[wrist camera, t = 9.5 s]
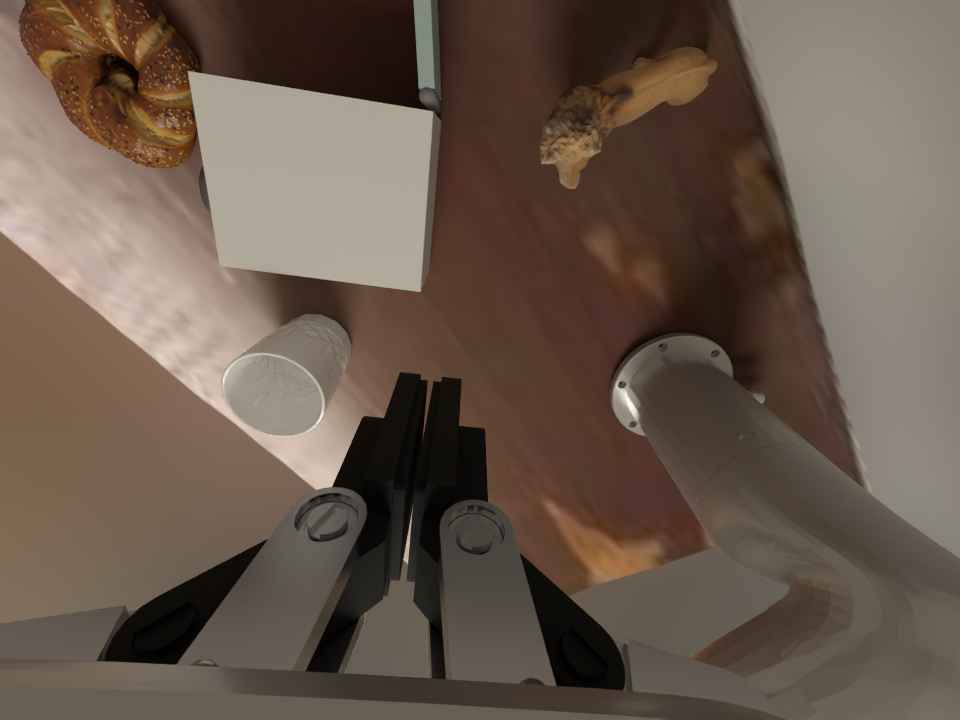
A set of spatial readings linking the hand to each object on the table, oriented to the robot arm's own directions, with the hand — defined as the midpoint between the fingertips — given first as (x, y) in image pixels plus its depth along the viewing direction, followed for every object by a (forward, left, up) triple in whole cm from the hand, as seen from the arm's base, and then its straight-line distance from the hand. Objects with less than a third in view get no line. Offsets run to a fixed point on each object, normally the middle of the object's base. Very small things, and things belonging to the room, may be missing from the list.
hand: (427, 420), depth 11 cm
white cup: (+13, +12, -27) cm, 33 cm away
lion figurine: (-10, -11, -27) cm, 31 cm away
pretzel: (+26, -8, -28) cm, 39 cm away
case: (+10, -3, -27) cm, 29 cm away
